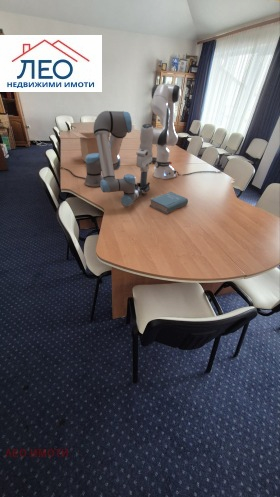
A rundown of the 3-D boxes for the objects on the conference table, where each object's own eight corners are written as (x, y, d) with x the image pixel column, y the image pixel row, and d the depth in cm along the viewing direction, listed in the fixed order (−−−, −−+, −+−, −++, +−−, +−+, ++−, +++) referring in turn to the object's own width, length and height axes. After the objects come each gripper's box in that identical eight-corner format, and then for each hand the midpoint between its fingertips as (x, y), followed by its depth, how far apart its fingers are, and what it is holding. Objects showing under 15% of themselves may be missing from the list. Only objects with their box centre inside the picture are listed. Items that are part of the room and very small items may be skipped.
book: (169, 197, 170) (170, 191, 167) (186, 205, 161) (188, 198, 158) (149, 205, 157) (150, 199, 154) (167, 214, 148) (168, 207, 145)
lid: (140, 169, 165) (140, 165, 164) (148, 169, 165) (148, 166, 164) (139, 171, 161) (140, 168, 159) (148, 172, 160) (148, 169, 159)
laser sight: (156, 164, 241) (157, 154, 235) (136, 162, 244) (137, 152, 238) (158, 162, 249) (159, 152, 243) (138, 159, 252) (139, 150, 246)
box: (116, 165, 229) (116, 136, 213) (83, 168, 214) (80, 137, 198) (102, 154, 259) (101, 128, 243) (71, 156, 244) (68, 129, 228)
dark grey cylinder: (138, 194, 172) (140, 169, 160) (140, 192, 176) (142, 167, 164) (144, 195, 171) (146, 170, 160) (146, 193, 175) (148, 168, 164)
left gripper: (122, 196, 160) (134, 186, 178) (145, 201, 156) (155, 190, 174) (122, 186, 156) (135, 176, 174) (146, 191, 151) (156, 180, 169)
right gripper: (147, 147, 163) (146, 166, 171) (135, 152, 148) (134, 173, 156) (155, 148, 161) (153, 168, 169) (143, 154, 146) (142, 175, 154)
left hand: (145, 183), depth 174 cm, fingers closed on dark grey cylinder, 5 cm apart
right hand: (144, 170), depth 163 cm, fingers closed on lid, 6 cm apart
